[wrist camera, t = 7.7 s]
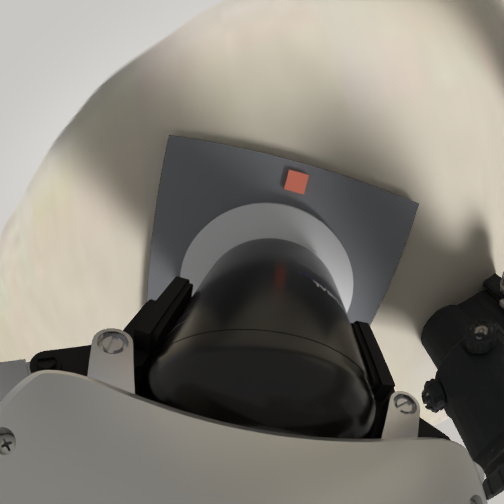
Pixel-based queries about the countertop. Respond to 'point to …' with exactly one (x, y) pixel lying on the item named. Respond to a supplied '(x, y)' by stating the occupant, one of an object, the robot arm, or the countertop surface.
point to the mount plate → (274, 218)
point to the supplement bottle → (266, 348)
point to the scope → (472, 375)
